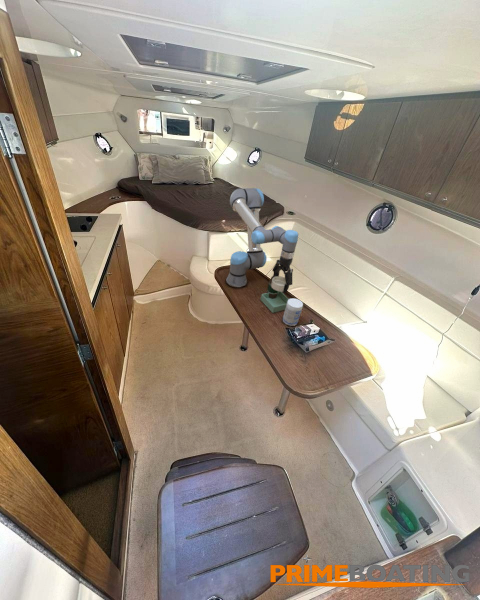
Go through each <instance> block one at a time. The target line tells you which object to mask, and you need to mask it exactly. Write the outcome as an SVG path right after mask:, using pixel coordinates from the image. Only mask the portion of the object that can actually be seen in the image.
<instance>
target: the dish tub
mask: <svg viewBox="0 0 480 600" xmlns="http://www.w3.org/2000/svg"><path fill="white" fill-rule="evenodd" d="M268 297H269V293H267V292H265V293H261V295H260V298H259V299H260V301H261V302H262V303H263V304H264V305H265V306H266V308H267V309H268V310H269V311H270V312H271V313H272V314H274V313H277V312H281V311H285V308H286V304H287V302H288V300H289V299H290V298H289V297H288V296H286V295H285V293H283V292H280V291H278V294H277V297H276V298H275V299H271V298H268Z"/></svg>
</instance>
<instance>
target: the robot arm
mask: <svg viewBox="0 0 480 600" xmlns="http://www.w3.org/2000/svg"><path fill="white" fill-rule="evenodd" d="M264 203H265V196H264V193H263V191H262V190H261V189H260V188H257V187H256V188H255V187H251V188H250V187H249V188H248V187H247V188H236V189H235V190H233V191H232V193H231V195H230V198H229V205H230V207H231V209H232V210H233V211H234V212H235V213H237V215H238V216H239V217H240V219H241V220H242V222H243V223H244V224H245V226H246V229H247V231H246V232H247V244H248V248H247V249H246V251H242V250H238V251H235V252H233V253H231V256H230V260H229V261H230V262H229V273H228V275H227V277H226V281H225V282H226V284H227V285H228V287H231V288H233V289H242V288H244V287H246V286H247V284H248V279H247V275H246V273H247V271H249V270H256V269H260V268H264V266H265V265H266V263H267V254H266V252H265V251H264V249H263V248H262V246H261V245H262V244H269V243H280V244H281V245H282V246H281V252H280V256H279V259H277V260H276V262H275V264H274V266H273V268H272V272H273V274H274V276H273V275H272V276H273V277H277V276H278V272H279V271H282V272H283V274H284V277H285V280H286V284H285V286H284V290H283V292H282V293H283V294H285V293H288V290H289V289H290V286H292V285H293V272H294V269H293V268H291V265H292V263H293V261H294V255H295V251H296V247H297V244H298V240H299V239H298V238H299V232H298V231H296V230H293V229H284V228H283V227H281V226H279V225H274V226H273V227H272V228H271V229H270V228H269V229H266V228H265V227H264V226H263V225H262V223H261V221H260V211H261V209H262V206H263V205H264ZM275 269H276V270H275ZM279 273H280V272H279Z"/></svg>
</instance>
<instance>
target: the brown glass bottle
mask: <svg viewBox="0 0 480 600" xmlns="http://www.w3.org/2000/svg"><path fill="white" fill-rule="evenodd" d="M275 270H276V269H275ZM280 271H281V270H280ZM280 271H279V272H278V276H280ZM273 276H274V273H273V274H272V276H271V277H270V279H269V281H268V284H267V289H266V293H269V297H268V298H271V299H275V298H276V297H277V294H278V291H276V290H274V289H273V288H272V287H271V283H272V279H273V278H274V277H273Z"/></svg>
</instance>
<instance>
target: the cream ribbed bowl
mask: <svg viewBox="0 0 480 600" xmlns="http://www.w3.org/2000/svg"><path fill="white" fill-rule="evenodd" d="M285 284H286V280H285V276H281V275H279V276H277V277H274V278H273V279H272V283H271V287H272V288H273V289H274V290H276V291H280V292H282V293H283V290H284V286H285Z"/></svg>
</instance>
